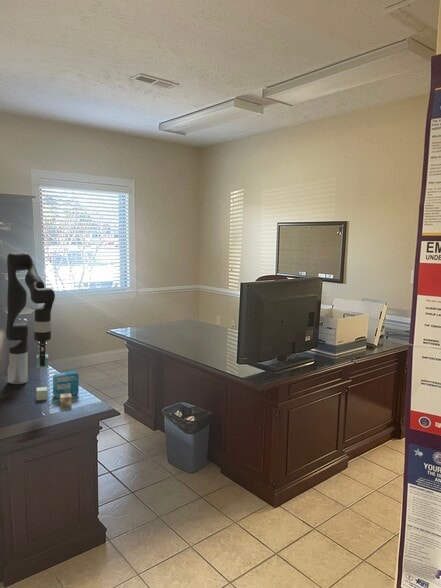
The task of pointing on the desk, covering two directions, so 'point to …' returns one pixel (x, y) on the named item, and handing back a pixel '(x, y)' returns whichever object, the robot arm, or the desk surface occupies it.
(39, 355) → the teal block
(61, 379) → the data package
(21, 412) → the desk surface
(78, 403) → the desk surface
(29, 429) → the desk surface
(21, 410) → the desk surface
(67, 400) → the maple block
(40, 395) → the sage block
